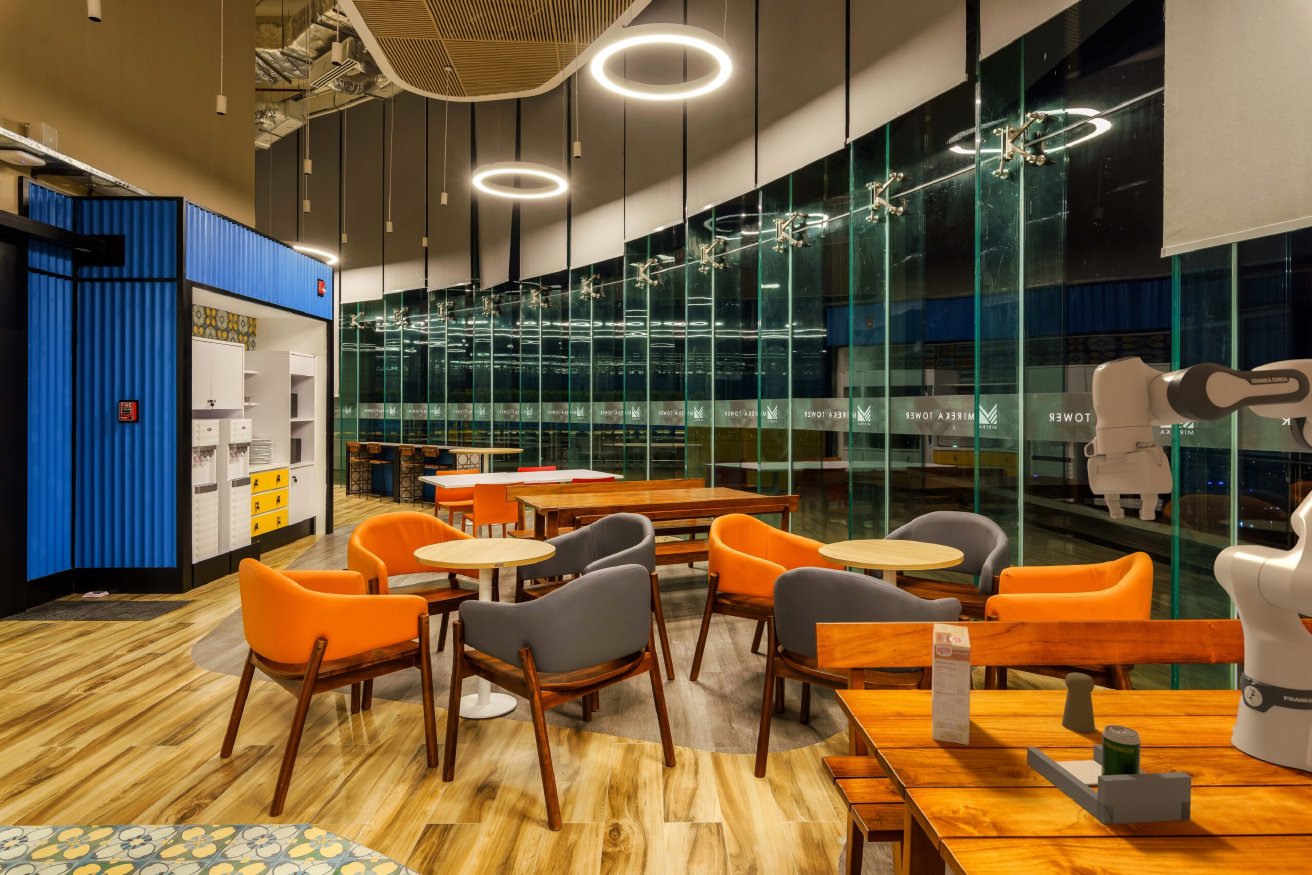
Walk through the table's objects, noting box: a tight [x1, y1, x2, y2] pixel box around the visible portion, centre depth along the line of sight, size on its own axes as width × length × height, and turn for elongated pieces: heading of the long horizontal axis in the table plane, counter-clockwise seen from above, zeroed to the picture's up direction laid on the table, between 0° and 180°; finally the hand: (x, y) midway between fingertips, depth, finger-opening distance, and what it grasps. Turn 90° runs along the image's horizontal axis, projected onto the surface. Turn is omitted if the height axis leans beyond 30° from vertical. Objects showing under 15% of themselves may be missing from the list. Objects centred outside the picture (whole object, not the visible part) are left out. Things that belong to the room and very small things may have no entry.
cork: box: [1061, 672, 1096, 734], centre depth 150 cm, size 6×6×11 cm
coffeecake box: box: [931, 623, 972, 746], centre depth 149 cm, size 15×7×20 cm, turn 159°
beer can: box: [1101, 724, 1141, 776], centre depth 121 cm, size 5×5×12 cm
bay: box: [1026, 743, 1192, 825], centre depth 125 cm, size 15×20×7 cm
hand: (1132, 518), depth 133 cm, fingers open, 8 cm apart
